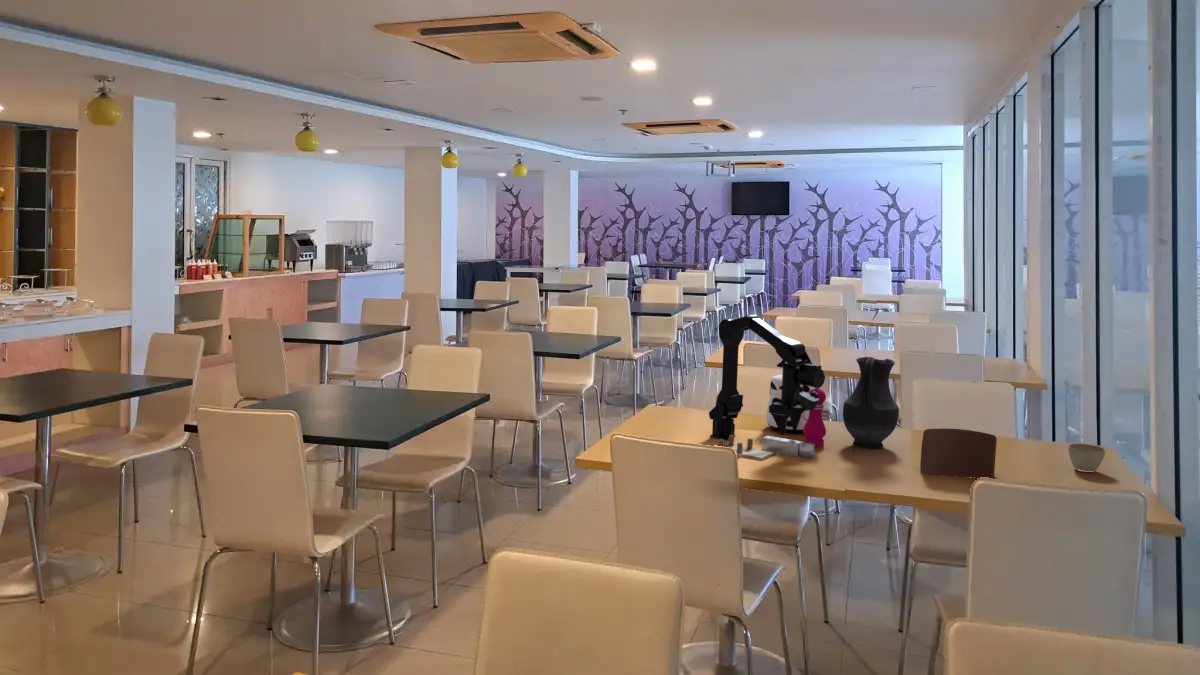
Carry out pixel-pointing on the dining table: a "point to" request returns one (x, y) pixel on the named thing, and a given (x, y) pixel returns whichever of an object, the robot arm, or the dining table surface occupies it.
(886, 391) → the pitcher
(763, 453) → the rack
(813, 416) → the pepper mill
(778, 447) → the round-headed grey paddle
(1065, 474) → the dining table surface
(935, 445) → the letter holder
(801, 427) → the milk container
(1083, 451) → the grey bowl
